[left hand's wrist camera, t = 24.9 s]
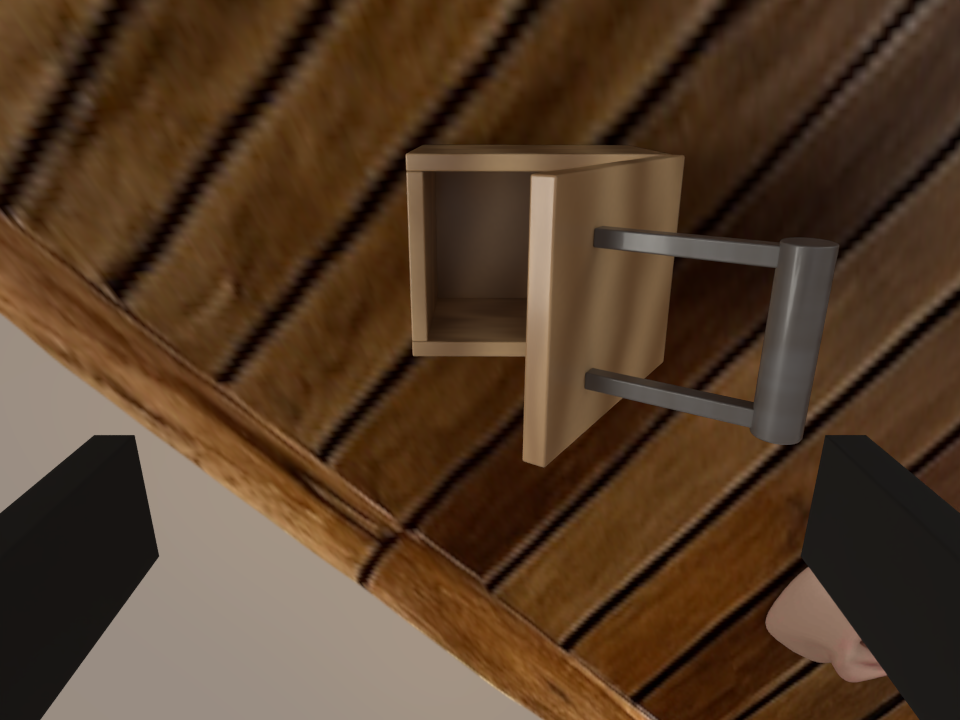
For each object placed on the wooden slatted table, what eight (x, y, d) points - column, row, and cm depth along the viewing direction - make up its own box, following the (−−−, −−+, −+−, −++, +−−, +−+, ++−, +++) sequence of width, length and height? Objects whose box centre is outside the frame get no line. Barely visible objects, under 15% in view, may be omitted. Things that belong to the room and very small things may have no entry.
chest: (426, 306, 44) (412, 356, 35) (422, 144, 40) (405, 153, 31) (616, 306, 44) (652, 356, 35) (629, 145, 40) (672, 153, 31)
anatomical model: (771, 688, 50) (828, 565, 46) (750, 649, 54) (802, 532, 50) (933, 715, 51) (1004, 596, 47) (903, 674, 55) (965, 561, 51)
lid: (521, 461, 24) (772, 539, 20) (529, 173, 21) (837, 190, 16) (645, 358, 35) (829, 395, 30) (665, 154, 31) (876, 161, 27)
